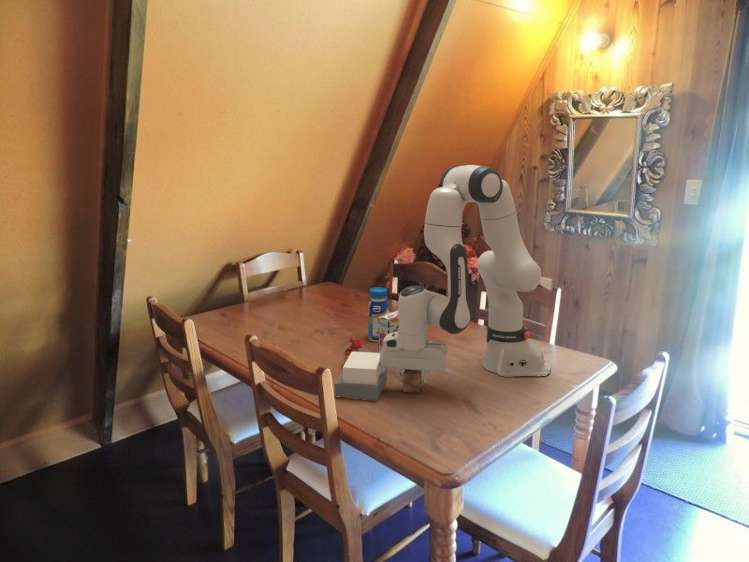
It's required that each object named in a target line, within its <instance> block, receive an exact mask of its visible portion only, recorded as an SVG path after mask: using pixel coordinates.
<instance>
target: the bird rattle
mask: <svg viewBox="0 0 749 562" xmlns="http://www.w3.org/2000/svg"><path fill="white" fill-rule="evenodd" d="M349 341H350V343H351V344H348V345H346V346H345V347H344V348H343V352H342V357H343V361H344V362H345V363H346V361H347V359H348V357H349V356H350V354H351V352H360V351H359V349H362V348H363V347H362V345H363V343H365V340H364V339H359V338H355V339H354V338H353V337H352V336H351V337H349Z"/></svg>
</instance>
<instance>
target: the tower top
mask: <svg viewBox="0 0 749 562" xmlns="http://www.w3.org/2000/svg"><path fill="white" fill-rule="evenodd" d="M379 359H380V353H378V352H369V351H367V352H366V351H359V352H351V354H350V356H349V357H348V359H347V361H346V362H345V363H344V365H343V367H342V372H343V383H353V384H369V385H376V384H377V381H378V379H379V376H380V373H381V371H382V367H381V366H380V364H379Z"/></svg>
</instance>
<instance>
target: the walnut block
mask: <svg viewBox="0 0 749 562" xmlns="http://www.w3.org/2000/svg"><path fill="white" fill-rule="evenodd" d="M403 370H404V371H403V373H402V375H403V382H402V389H403V390H402V391H403V393H414V394H416V393H417V394H420V392H421V388H422V383H420V377H421V376H423V375H422V371H423V370H409V369H403Z"/></svg>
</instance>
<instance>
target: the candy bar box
mask: <svg viewBox="0 0 749 562" xmlns="http://www.w3.org/2000/svg"><path fill="white" fill-rule="evenodd" d="M378 318H379V322H378V342H377V343H378V344H377V346H378V349H377V350H378V351H377V353H380V352H381V349H382V347H383V340H384V338H385V336H386V335H387V334H389V333H394V332H397V331H398V327H399V319H398V309H396V310H395V311H392V312H390V313H389V314H386V315H383V316H381V317H378Z"/></svg>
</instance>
